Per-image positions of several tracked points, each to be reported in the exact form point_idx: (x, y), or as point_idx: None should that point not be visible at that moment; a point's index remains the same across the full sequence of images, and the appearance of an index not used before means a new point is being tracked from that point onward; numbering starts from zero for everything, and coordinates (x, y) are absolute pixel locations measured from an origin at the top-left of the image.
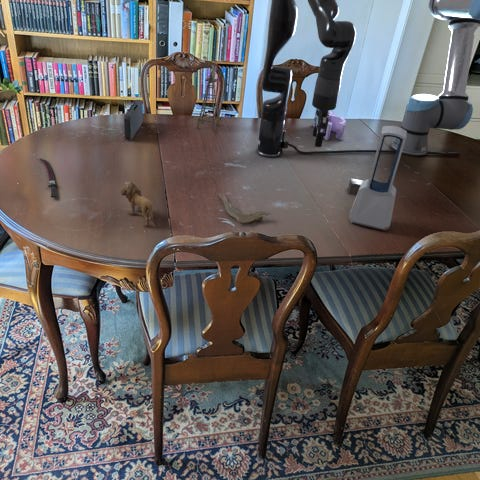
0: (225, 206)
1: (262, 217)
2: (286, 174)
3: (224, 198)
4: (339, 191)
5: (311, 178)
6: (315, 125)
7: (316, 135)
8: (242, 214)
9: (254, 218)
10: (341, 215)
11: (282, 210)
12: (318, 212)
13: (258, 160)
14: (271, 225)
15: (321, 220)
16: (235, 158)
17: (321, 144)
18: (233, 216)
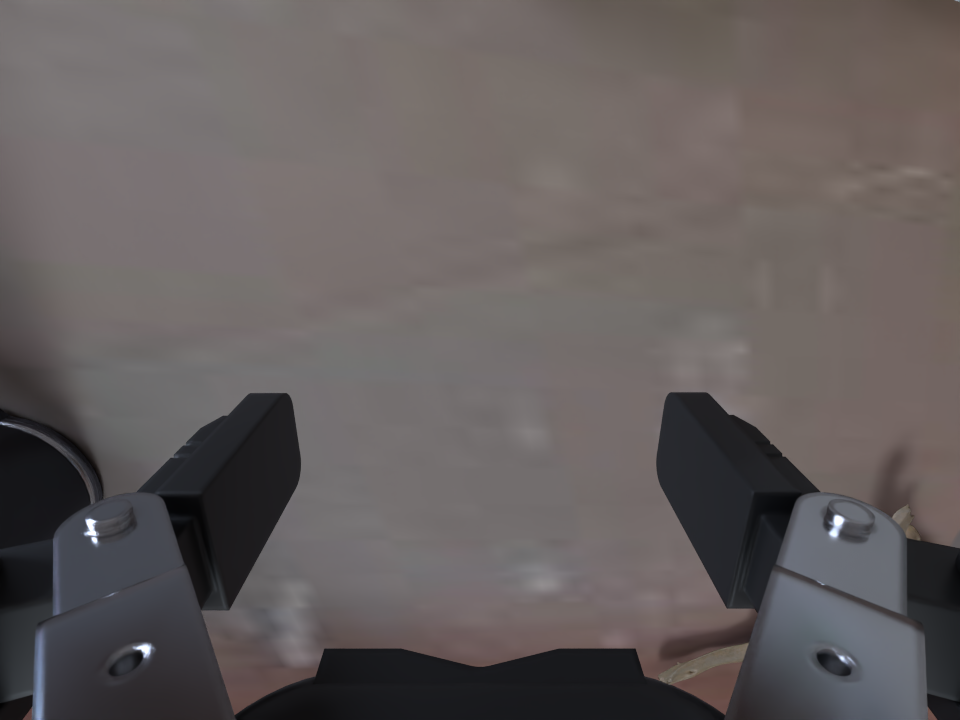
0: None
1: (919, 534)
2: (305, 386)
3: (707, 667)
4: (463, 16)
5: (305, 226)
6: (198, 597)
7: (721, 597)
8: None
9: None
10: (846, 54)
11: (777, 423)
12: (801, 220)
13: None
14: (932, 476)
15: (904, 210)
16: (207, 627)
17: (716, 413)
18: None
